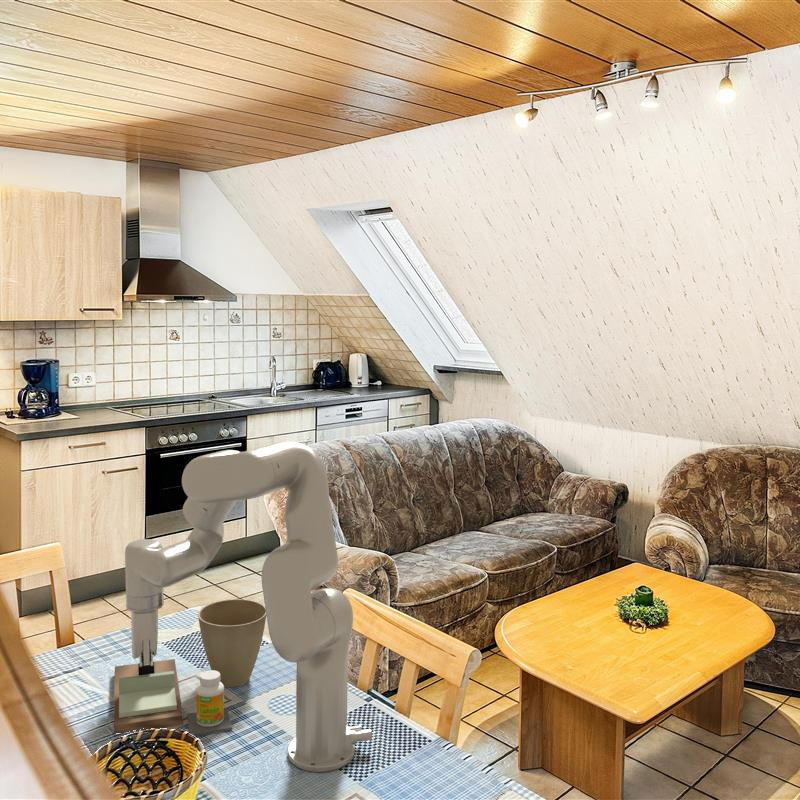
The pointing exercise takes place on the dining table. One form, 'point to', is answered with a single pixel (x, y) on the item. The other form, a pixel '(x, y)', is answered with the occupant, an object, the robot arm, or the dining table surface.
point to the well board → (153, 719)
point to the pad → (202, 730)
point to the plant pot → (232, 638)
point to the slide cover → (146, 694)
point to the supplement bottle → (210, 699)
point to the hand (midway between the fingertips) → (146, 681)
